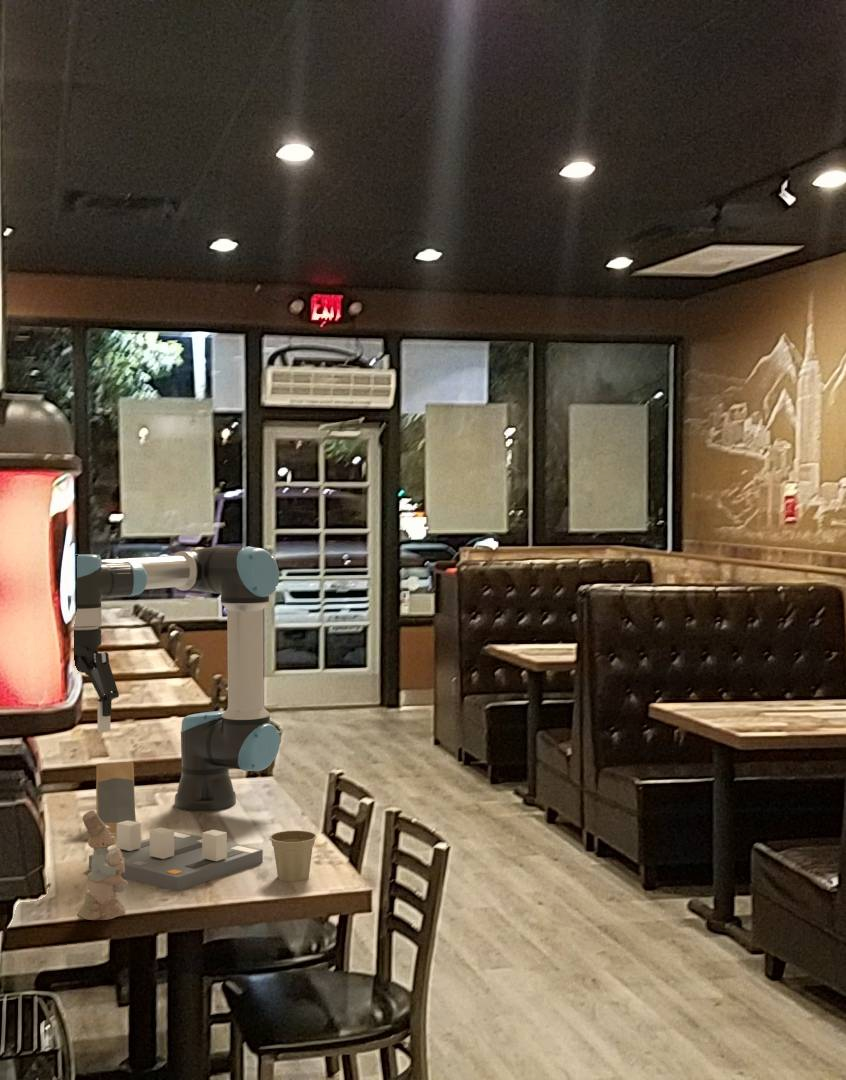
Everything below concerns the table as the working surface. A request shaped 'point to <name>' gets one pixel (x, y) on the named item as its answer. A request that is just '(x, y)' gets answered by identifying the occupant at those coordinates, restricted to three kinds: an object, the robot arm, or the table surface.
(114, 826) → the sandwich container
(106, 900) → the figurine
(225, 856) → the white upright block
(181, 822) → the table surface
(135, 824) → the side handle
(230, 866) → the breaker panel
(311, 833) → the flower pot
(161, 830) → the middle handle
